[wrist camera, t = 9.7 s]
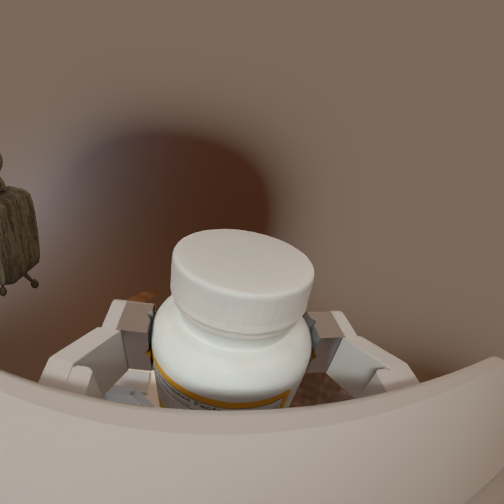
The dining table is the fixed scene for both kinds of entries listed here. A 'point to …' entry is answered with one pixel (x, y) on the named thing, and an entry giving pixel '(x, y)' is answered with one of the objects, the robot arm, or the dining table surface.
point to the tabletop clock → (17, 235)
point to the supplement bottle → (233, 323)
